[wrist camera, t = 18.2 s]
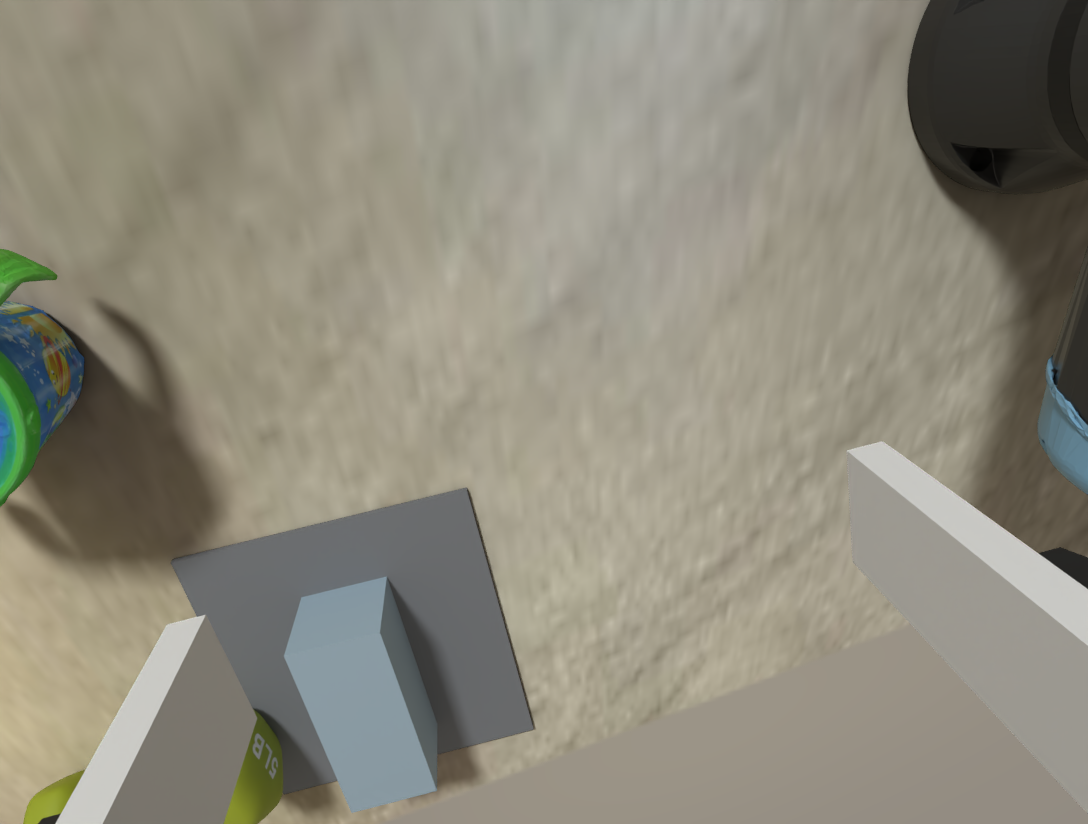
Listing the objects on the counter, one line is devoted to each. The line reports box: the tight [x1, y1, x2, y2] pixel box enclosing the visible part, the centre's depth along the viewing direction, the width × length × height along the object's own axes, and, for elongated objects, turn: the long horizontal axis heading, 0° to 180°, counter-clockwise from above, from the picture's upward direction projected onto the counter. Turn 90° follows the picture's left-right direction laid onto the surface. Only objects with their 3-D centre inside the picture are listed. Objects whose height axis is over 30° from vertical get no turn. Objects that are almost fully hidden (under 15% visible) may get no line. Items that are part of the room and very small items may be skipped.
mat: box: [171, 488, 533, 794], centre depth 52 cm, size 20×22×1 cm
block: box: [284, 577, 437, 813], centre depth 50 cm, size 6×6×14 cm
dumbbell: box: [23, 709, 283, 824], centre depth 50 cm, size 16×8×7 cm, turn 111°
